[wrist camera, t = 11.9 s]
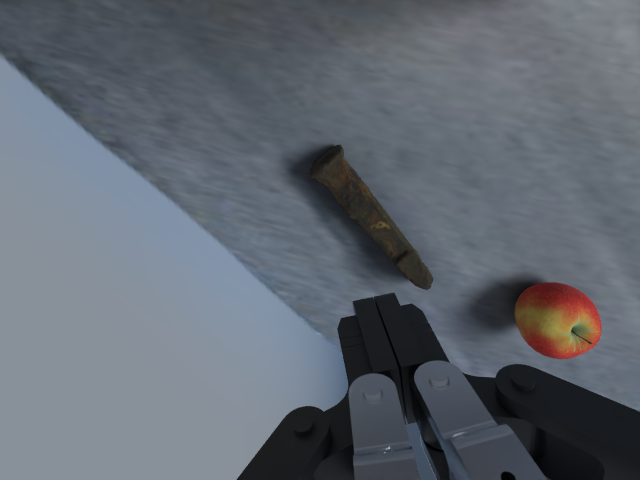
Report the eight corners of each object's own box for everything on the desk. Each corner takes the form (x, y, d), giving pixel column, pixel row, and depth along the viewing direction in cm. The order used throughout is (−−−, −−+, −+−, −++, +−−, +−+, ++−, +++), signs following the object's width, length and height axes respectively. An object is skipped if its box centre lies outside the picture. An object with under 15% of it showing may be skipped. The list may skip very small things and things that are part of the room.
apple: (491, 321, 52) (537, 378, 43) (515, 265, 49) (571, 314, 40) (547, 327, 54) (603, 383, 45) (574, 273, 50) (640, 322, 41)
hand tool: (304, 164, 41) (308, 177, 37) (336, 139, 41) (344, 150, 37) (401, 287, 49) (413, 310, 45) (430, 268, 48) (445, 290, 44)
